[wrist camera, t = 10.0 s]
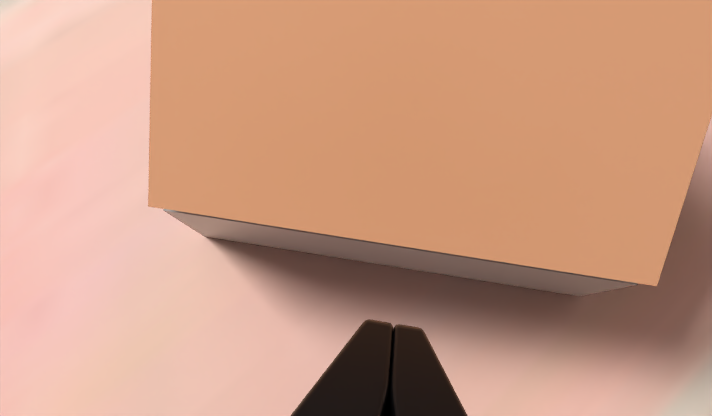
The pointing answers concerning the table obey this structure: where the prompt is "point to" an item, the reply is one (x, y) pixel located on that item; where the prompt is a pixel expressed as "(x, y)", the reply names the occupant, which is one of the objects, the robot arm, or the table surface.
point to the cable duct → (398, 256)
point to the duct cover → (438, 122)
